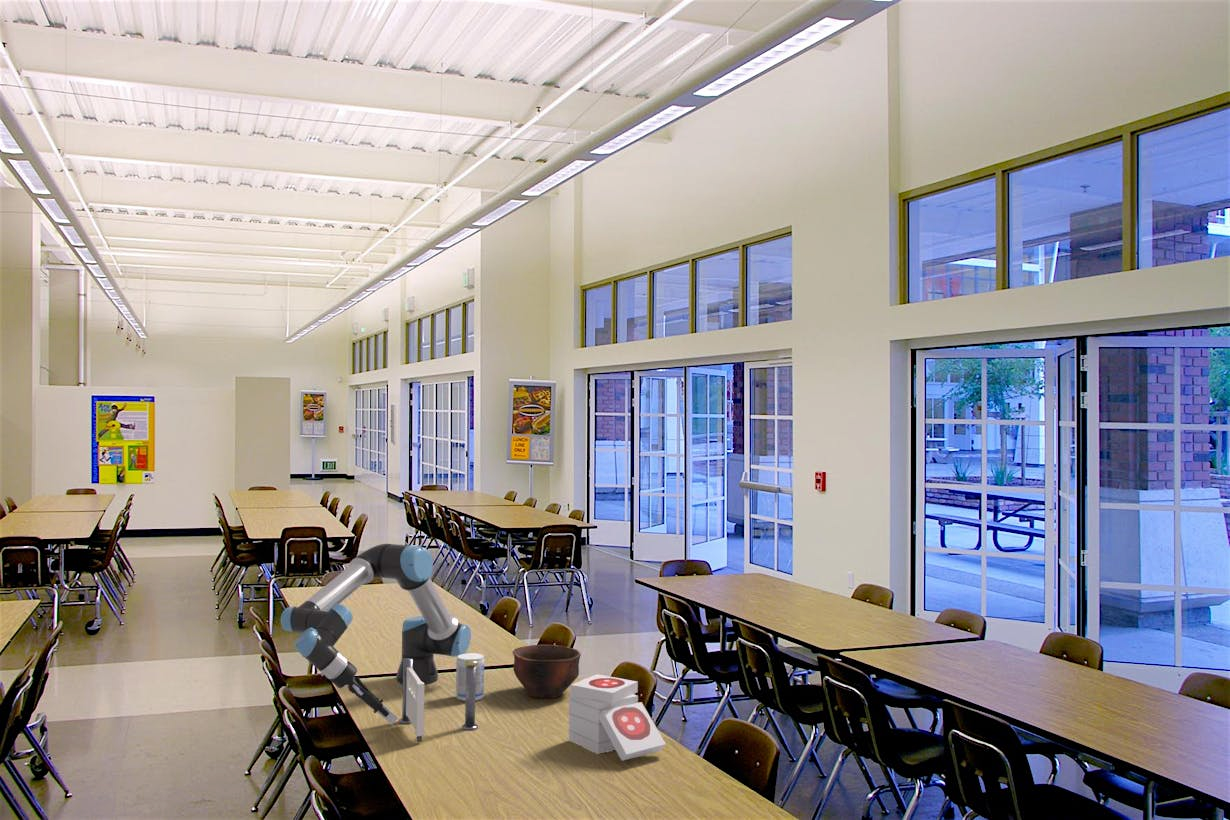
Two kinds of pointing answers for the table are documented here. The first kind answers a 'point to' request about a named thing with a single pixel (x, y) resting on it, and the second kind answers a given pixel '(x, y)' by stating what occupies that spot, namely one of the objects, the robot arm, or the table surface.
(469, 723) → the latch post
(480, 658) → the supplement tub
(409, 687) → the gate
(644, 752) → the pizza boxes
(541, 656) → the bowl
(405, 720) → the hinge post
